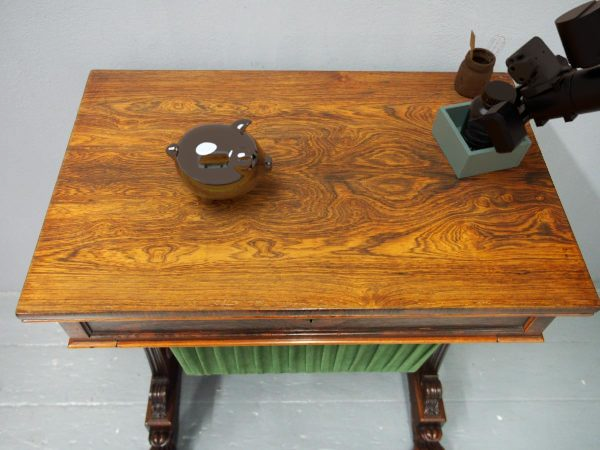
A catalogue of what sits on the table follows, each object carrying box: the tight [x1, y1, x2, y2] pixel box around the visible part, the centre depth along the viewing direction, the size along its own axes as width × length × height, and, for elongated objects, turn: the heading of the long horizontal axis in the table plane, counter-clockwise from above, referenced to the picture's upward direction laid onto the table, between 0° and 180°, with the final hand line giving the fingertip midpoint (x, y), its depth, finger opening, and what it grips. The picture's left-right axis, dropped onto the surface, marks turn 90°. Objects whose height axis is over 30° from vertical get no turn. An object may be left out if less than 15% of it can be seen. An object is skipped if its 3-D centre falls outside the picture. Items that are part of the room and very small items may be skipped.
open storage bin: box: [430, 100, 533, 180], centre depth 81 cm, size 11×11×6 cm
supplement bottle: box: [459, 79, 517, 152], centre depth 78 cm, size 7×7×12 cm
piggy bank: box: [164, 118, 274, 206], centre depth 72 cm, size 11×15×12 cm
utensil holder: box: [453, 29, 506, 99], centre depth 87 cm, size 6×6×12 cm
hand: (481, 112), depth 78 cm, fingers closed on supplement bottle, 7 cm apart
